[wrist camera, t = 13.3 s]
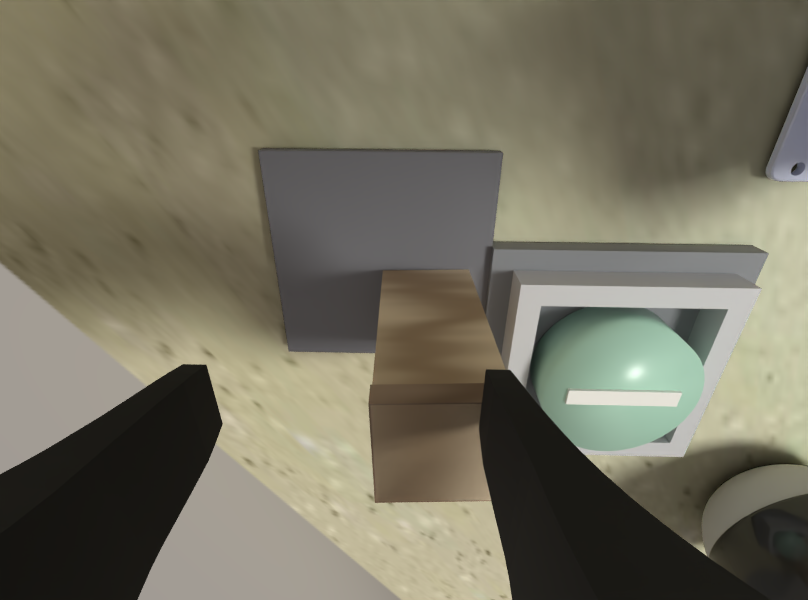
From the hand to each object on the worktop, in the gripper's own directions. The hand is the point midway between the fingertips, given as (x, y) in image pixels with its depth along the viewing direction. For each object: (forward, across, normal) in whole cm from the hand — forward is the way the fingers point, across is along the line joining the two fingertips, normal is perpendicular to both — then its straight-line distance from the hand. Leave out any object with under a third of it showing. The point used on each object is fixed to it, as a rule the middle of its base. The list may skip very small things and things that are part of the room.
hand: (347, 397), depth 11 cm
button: (+9, -11, +5) cm, 15 cm away
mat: (+10, 0, 0) cm, 10 cm away
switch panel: (+10, -11, +5) cm, 16 cm away
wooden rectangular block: (+9, -2, +2) cm, 10 cm away
